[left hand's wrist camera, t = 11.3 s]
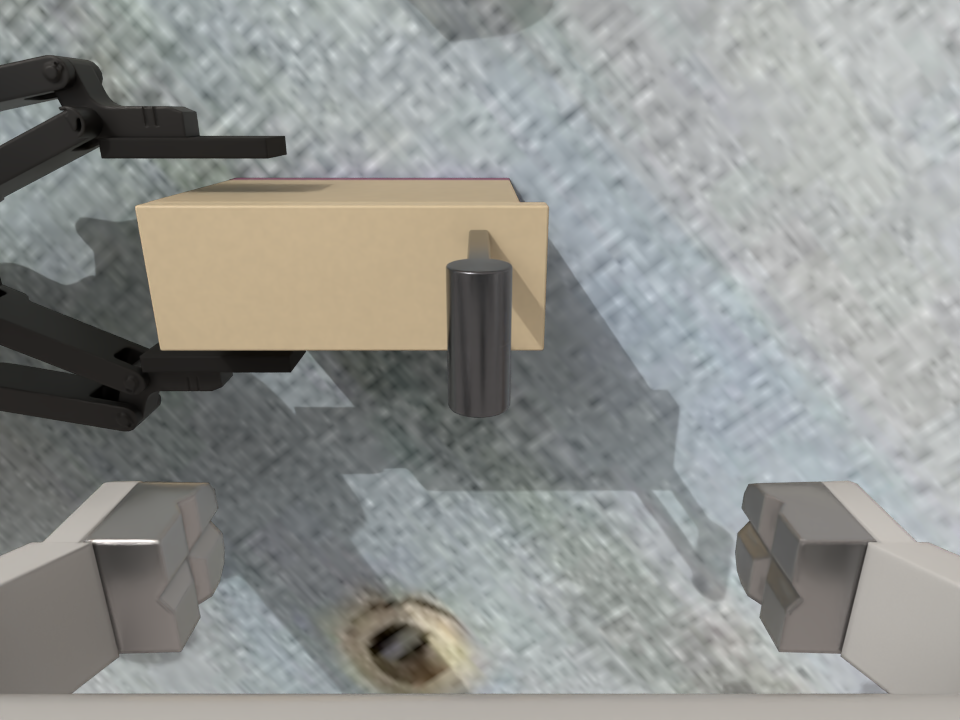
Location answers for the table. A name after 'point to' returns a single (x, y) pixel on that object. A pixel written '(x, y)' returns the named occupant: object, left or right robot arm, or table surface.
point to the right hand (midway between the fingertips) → (287, 256)
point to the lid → (355, 282)
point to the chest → (352, 190)
